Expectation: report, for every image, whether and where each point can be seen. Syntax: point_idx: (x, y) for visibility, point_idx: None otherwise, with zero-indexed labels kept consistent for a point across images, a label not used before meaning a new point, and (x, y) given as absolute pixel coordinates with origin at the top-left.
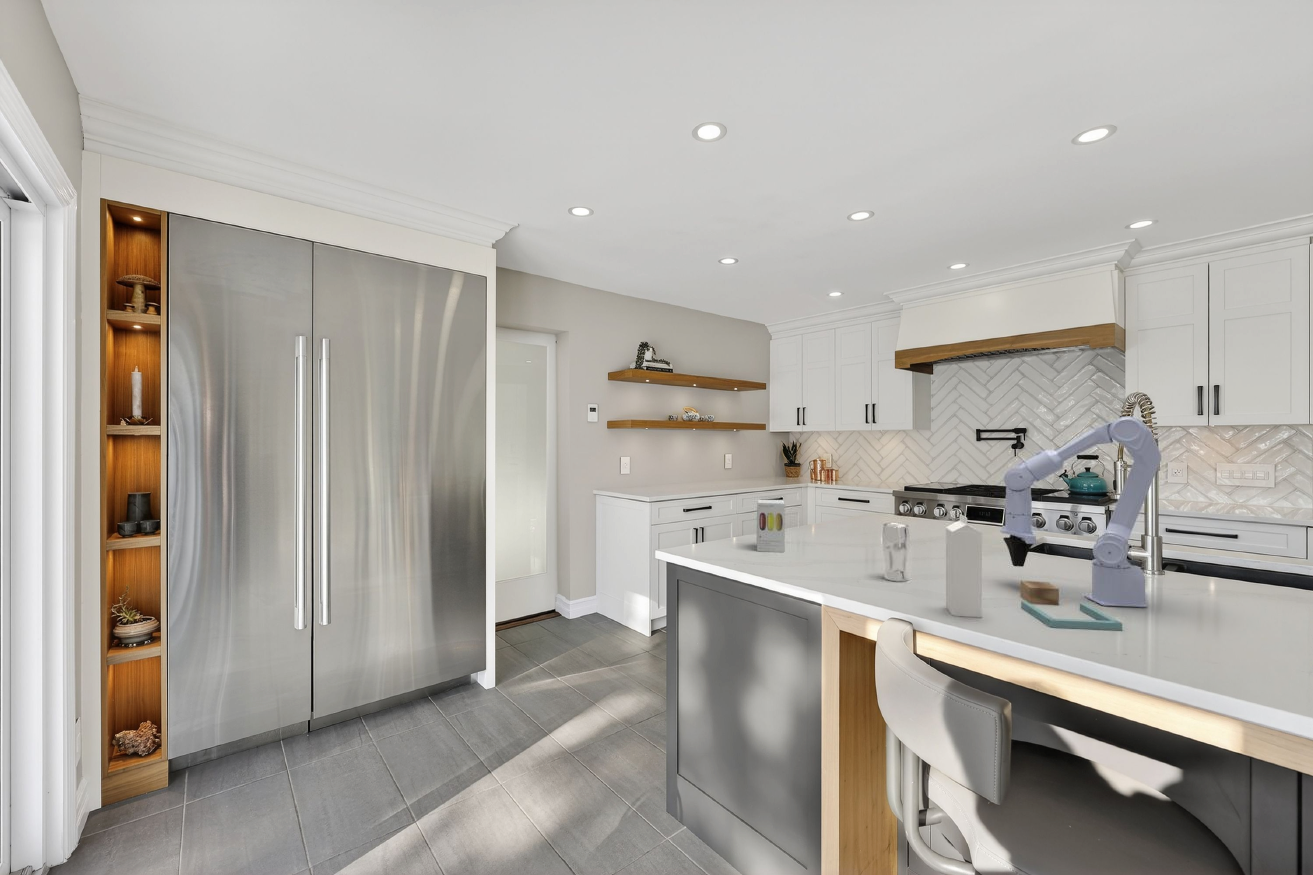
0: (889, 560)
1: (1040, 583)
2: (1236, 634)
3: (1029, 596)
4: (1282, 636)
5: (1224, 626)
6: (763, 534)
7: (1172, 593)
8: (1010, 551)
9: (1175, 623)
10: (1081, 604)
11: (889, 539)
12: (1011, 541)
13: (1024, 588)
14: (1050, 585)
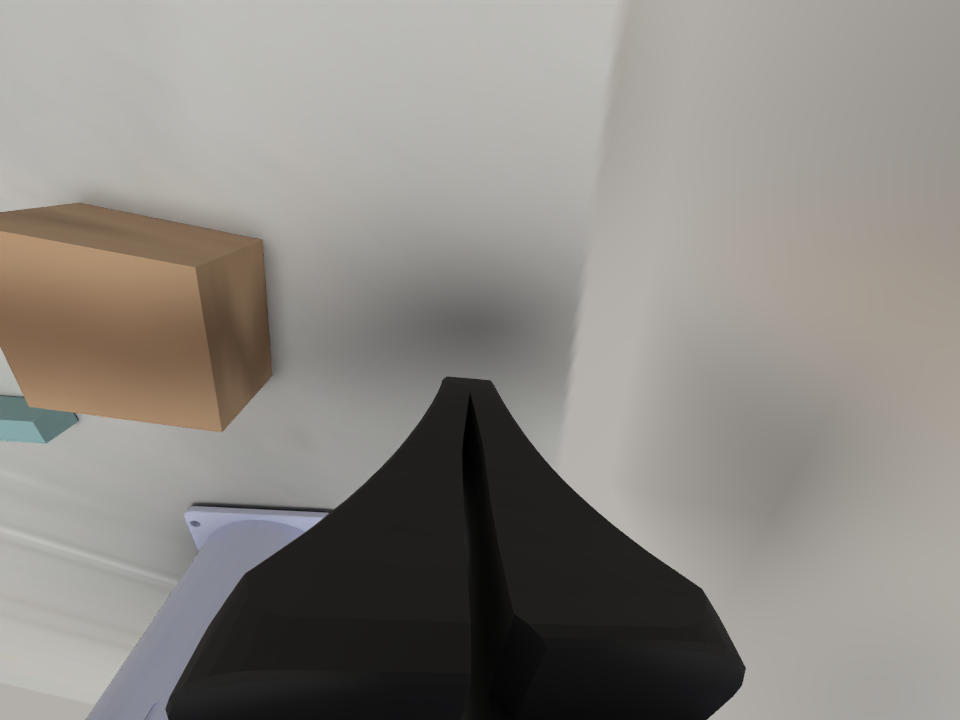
0: None
1: (158, 371)
2: (10, 635)
3: (34, 209)
4: (59, 683)
5: (91, 646)
6: None
7: None
8: (494, 458)
9: (48, 580)
10: (11, 419)
11: None
12: (208, 637)
13: (128, 239)
14: (121, 404)
